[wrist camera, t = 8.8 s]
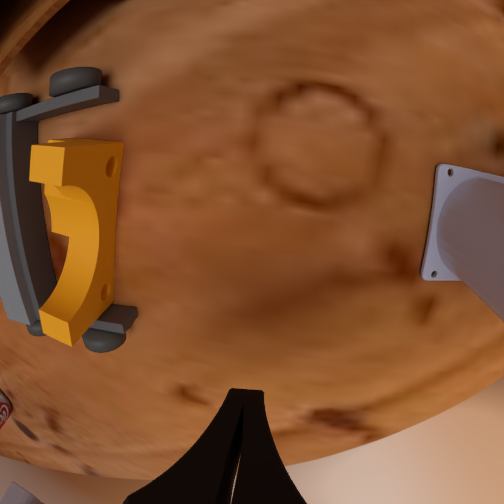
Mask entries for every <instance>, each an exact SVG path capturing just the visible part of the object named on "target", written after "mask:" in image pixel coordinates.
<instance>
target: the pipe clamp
mask: <svg viewBox="0 0 504 504" xmlns="http://www.w3.org/2000/svg"><path fill="white" fill-rule="evenodd" d="M124 144H125V143H123V142H114V141H105V140H95V139H83V138H66V139H53V140H48V143H44V144H35V145H32V147H31V159H30V176H29V181H33V182H39V183H44V184H45V195H46V198H47V200H48V203H49V207H50V211H51V219H52V232H55V233H58V234H62V235H65V236H69V245H68V252H67V257H66V261H65V265H64V268H63V271H62V274H61V277H60V279H59V281H58V283H57V285H56V287H55V289H54V291H53V293H52V294H51V296H50V297H49V299H48V300H47V301H46V302H45V304H44V305H43V306H42V307H41V308H40V309H39V315H40V320H41V325H42V330H43V333H44V334H46V335H48V336H50V337H52V338H54V339H56V340H58V341H61V342H63V343H65V344H67V345H69V346H73V345H74V344H75V343H76V342H77V341H78V339H79V338H80V337H81V336H82V335H83V334H84V333H85V332H86V331H87V329H88V328H89V327H90V326H91V325H92V324H93V323H94V322H95V321H96V320H97V319H98V317H99V316H100V315H101V314H102V313H103V312H104V311H105V310H106V309H107V308H108V307H109V306H110V305H111V304H112V303H113V301H114V253H115V231H116V215H117V202H118V192H119V182H120V173H121V165H122V158H123V151H124Z"/></svg>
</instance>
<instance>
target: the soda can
mask: <svg viewBox="0 0 504 504" xmlns="http://www.w3.org/2000/svg"><path fill="white" fill-rule="evenodd" d="M11 413H12V409H11V406H10V402H9V401H8V399H7V398H6V396H5V395H4V394H3V393H2V392H1V391H0V429H1V427H2V426H3V425H4V423H5V422H6V421H7V419H8V418H9V416H10V414H11Z"/></svg>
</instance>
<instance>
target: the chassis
mask: <svg viewBox="0 0 504 504" xmlns="http://www.w3.org/2000/svg"><path fill="white" fill-rule="evenodd" d="M101 75H102V71H101V70H100V69H98V68H93V67H75V68H69V69H65V70H61V71H58V72H56V73H54V74H53V75H52V76H51V77H50V90H49V95H50V96H52V97H55V98H52V99H49V100H46V101H43V102H40V103H38V104H35V105H32V97H33V95H32V94H30V93H16V94H10V95H5V96H2V97H0V296H1V299H2V302H3V305H4V308H5V311H6V314H7V317H8V319H11V320H14V321H17V322H20V323H24V324H26V326H27V329H28V331H29V333H30V334H31V335H33V336H45V335H46V334H44V333H43V330H42V325H41V320H40V315H39V309H40V308H41V307H42V306H43V305H44V304H45V302H46V301H47V300H48V299H49V297H50V296H51V294H52V293H53V291H54V289H55V287H56V285H57V282H56V277H55V273H54V269H53V264H52V260H51V255H50V250H49V244H48V239H47V233H46V227H45V220H44V213H43V206H42V197H41V188H40V183H39V182H33V181H29V176H30V159H31V147H32V145H35V144H38V121H40V120H43V119H46V118H50V117H53V116H57V115H60V114H64V113H68V112H72V111H76V110H80V109H84V108H88V107H93V106H97V105H102V104H107V103H112V102H117V101H119V90H117V89H113V88H109V87H105V86H101ZM137 316H138V315H137V309H136V307H130V306H122V305H114V304H111V305H110V306H109V307H108V308H107V309H106V310H105V311H104V312H103V313H102V314H101V315H100V316H99V317H98V319H97V320H96V321H95V322H94V323H93V324H92V325H91V326H90V327H89V328H88V329H87V331H86V332H85V333H84V334H83V335H82V338H83V341H84V344H85V346H86V348H87V349H89V350H90V351H93V352H98V353H103V352H109V351H112V350H115V349H117V348H118V347H120V346H121V345H122V344H123V343H124V342H125V340H126V333H125V332H126V331H127V330H128V328H129V327H130V326H131V324H132V323H133V322H134V320H135V319H136V318H137Z"/></svg>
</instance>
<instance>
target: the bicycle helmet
mask: <svg viewBox="0 0 504 504" xmlns="http://www.w3.org/2000/svg"><path fill="white" fill-rule="evenodd" d="M69 1H70V0H0V75H1V74H2V73H3V71H4V70H5V69H6V67H7V66H8V65H9V64H10V62H11V61H12V60H13V59H14V57H15V56H16V55H17V54H18V53H19V51H20V50H21V49H22V48H23V47H24V46H25V44H26V43H27V42H28V41H29V40H30V39H31V38H32V37H33V36H34V35H35V33H36V32H37V31H38V30H39V29H40V28H41V27H42V26H43V25H44V24H45V23H46V22H47V21H48V20H49V19H50V18H51V17H52V16H53V15H54V14H55V13H56V12H57V11H59V10H60V9H61V8H62V7H63V6H64V5H65V4H66V3H67V2H69Z"/></svg>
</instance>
